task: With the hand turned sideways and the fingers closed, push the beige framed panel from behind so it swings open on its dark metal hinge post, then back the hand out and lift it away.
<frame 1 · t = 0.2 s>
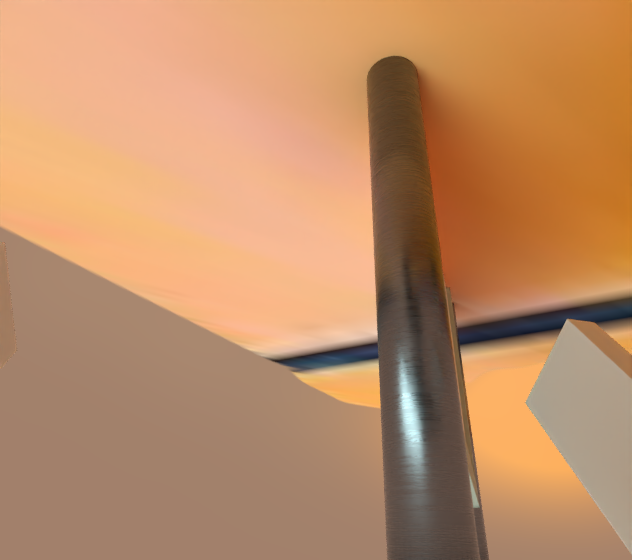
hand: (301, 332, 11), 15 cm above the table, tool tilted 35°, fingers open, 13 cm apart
gate posts: (391, 79, 22), on the table
beige framed panel: (435, 343, 27), point 9 cm above the table, hinge at 0.0°
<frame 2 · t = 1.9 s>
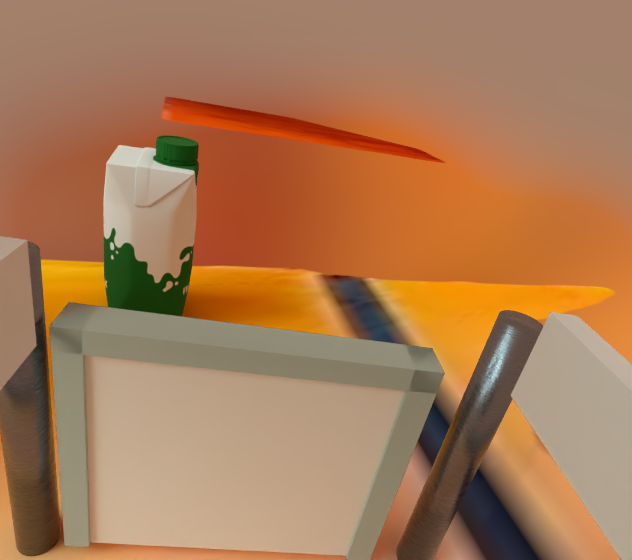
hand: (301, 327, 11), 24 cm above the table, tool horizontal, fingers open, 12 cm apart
gate posts: (38, 537, 29), on the table
milk carton: (147, 312, 54), on the table
beige framed panel: (241, 450, 27), point 9 cm above the table, hinge at 0.0°
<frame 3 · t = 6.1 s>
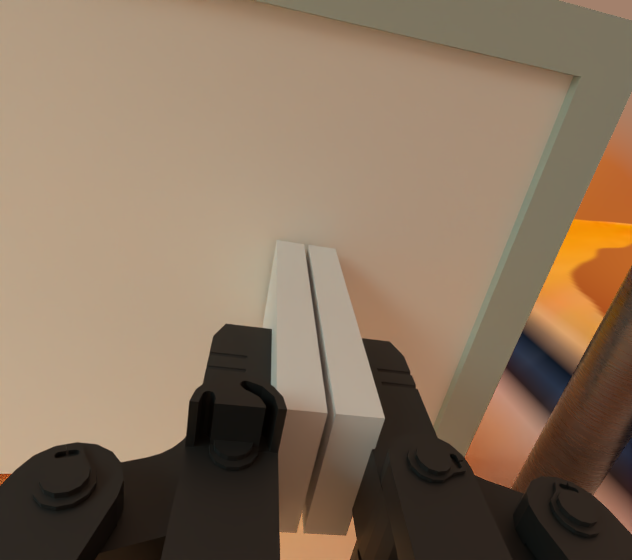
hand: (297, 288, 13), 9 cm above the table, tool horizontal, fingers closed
beige framed panel: (229, 260, 14), point 9 cm above the table, hinge at 4.6°, touching gripper
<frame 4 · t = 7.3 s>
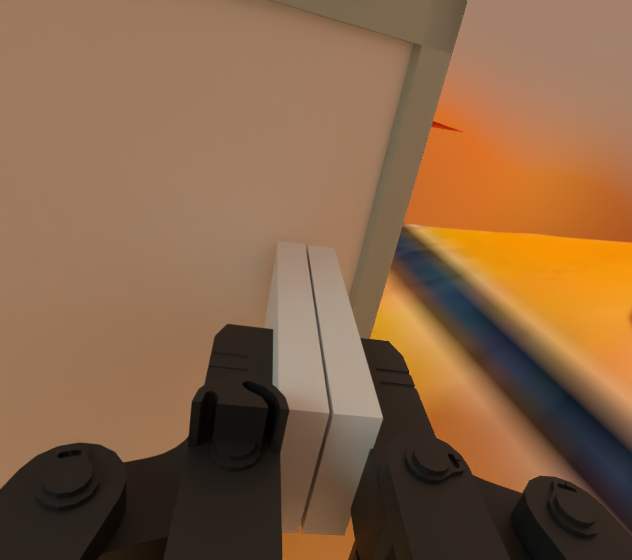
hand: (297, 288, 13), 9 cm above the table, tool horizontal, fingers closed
beige framed panel: (110, 291, 11), point 9 cm above the table, hinge at 38.4°, touching gripper
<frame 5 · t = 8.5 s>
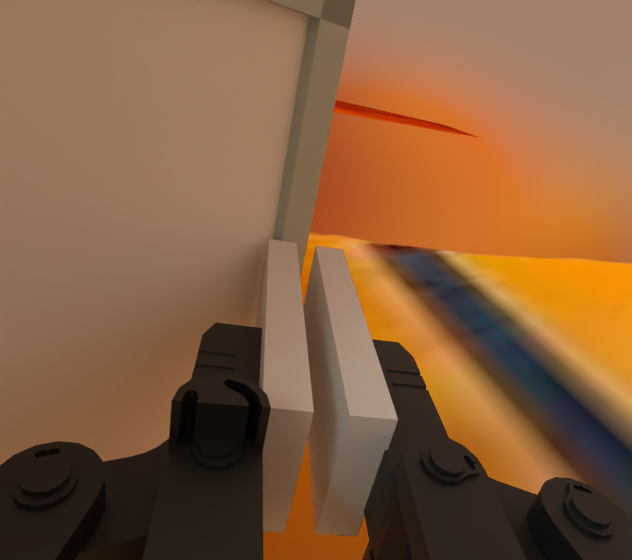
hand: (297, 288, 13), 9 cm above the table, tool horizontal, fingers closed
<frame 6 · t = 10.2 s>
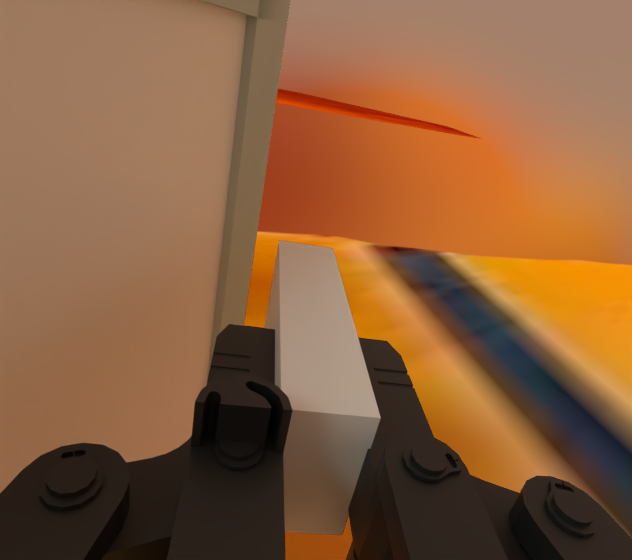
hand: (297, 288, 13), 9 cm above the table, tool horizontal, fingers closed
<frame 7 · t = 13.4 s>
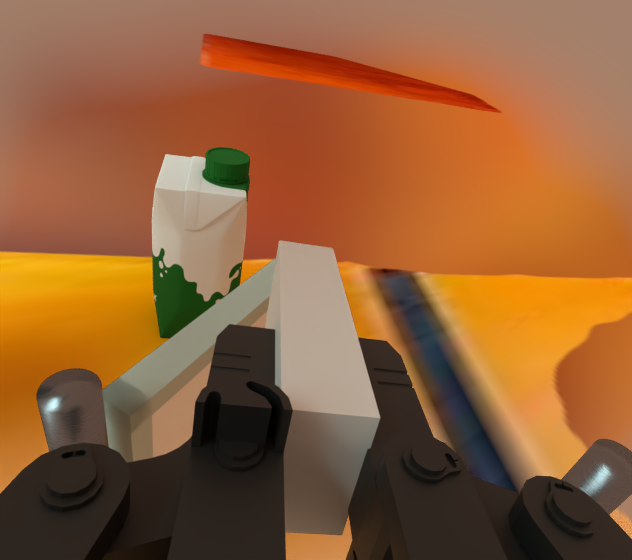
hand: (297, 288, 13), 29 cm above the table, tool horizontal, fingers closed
milk carton: (195, 319, 53), on the table
beige framed panel: (223, 390, 34), point 9 cm above the table, hinge at 62.3°
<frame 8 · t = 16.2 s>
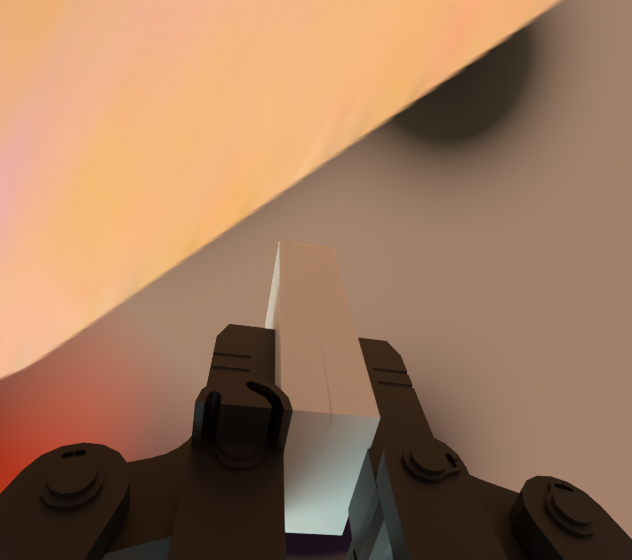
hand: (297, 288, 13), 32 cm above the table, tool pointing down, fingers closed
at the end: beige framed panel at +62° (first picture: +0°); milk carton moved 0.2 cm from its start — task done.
